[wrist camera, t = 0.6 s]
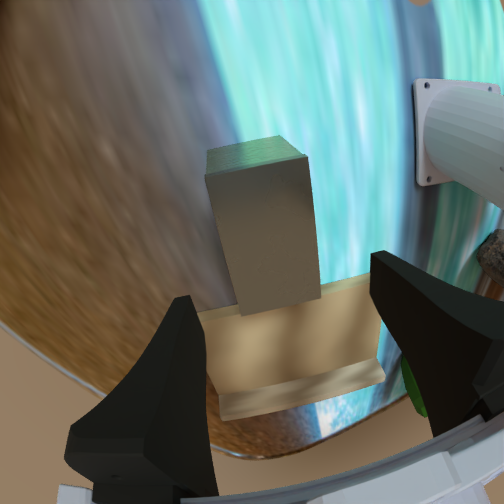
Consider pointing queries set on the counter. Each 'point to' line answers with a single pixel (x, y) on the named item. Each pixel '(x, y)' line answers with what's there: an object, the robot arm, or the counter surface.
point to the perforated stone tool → (493, 256)
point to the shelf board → (294, 351)
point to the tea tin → (265, 222)
